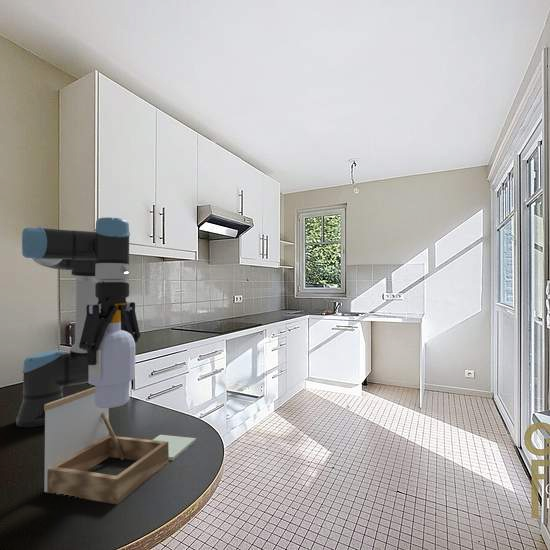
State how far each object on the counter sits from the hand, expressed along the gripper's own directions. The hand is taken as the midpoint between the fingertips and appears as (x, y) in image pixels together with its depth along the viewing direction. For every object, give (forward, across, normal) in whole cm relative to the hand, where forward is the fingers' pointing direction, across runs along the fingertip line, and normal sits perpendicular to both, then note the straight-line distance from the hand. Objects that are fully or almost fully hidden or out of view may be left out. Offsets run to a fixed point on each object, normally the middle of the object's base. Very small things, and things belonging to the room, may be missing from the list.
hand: (112, 373), depth 84 cm
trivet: (+24, +16, -4) cm, 29 cm away
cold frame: (+24, 0, 0) cm, 24 cm away
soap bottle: (+8, 0, 0) cm, 8 cm away
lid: (+24, 0, +9) cm, 26 cm away
